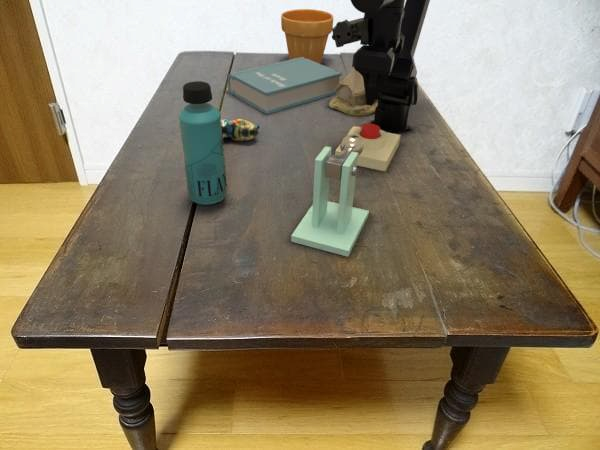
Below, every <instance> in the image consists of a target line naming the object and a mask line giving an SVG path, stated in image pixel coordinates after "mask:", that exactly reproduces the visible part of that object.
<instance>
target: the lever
mask: <svg viewBox="0 0 600 450" xmlns="http://www.w3.org/2000/svg"><path fill="white" fill-rule="evenodd" d="M340 144H341V145H340ZM340 144H339V145H340V149H341V154H340V155H339V156H338V155H335V154H331V157H330V158H329V159H328V161H327V162H326V172H325V177H327V178H329V179H333V180H336V181H341V176H342V165H343V164H344V162H345V161H346V159H347V158H348V156H349V155H350V153H351V152H357V153H358V156H359V155H360V154H361V153H362V151H363V148H364V145H363V141H362V140H361V138H360V137H358V136H356V135H348V136H346V135H345V136H344V137H343V139H342V140H341V142H340Z"/></svg>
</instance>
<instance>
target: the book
mask: <svg viewBox="0 0 600 450" xmlns="http://www.w3.org/2000/svg"><path fill="white" fill-rule="evenodd" d="M342 75H343V74H342V72H341V71H337V70H335V69H333V68H331V67H329V66H326V65H324V64H322V63H321V64H319V63H316V62H314V61H311V60H309V59H305V58H304V57H300V58H295V59H291V60H290V59H287V60H283V61H278V62H273V63H270V64H265V65H260V66H256V67H251V68H248V69H243V70H238V71H235V72H230V73H229V74H227V89H228V92H229V94H230V95H232V96H234V97H235V98H237V99H238V100H241V101H243V102H244V103H246V104H248V105H249V106H252V107H253V108H254V109H256V110H258V111H260V112H262V113H263V114H265V115H269V114H272V113H276V112H280V111H283V110H287V109H290V108H293V107H297V106H300V105H303V104H307V103H310V102H314V101H318V100H321V99H325V98H327V97H330V96H335V95H336V92H337V91H336V86H337V85H338V84H339V83H340V77H342Z"/></svg>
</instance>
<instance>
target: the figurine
mask: <svg viewBox="0 0 600 450" xmlns="http://www.w3.org/2000/svg"><path fill="white" fill-rule="evenodd" d="M221 127H223V128H222V132H223V133H222V134H223V135H222V136H223V138H222V139H224V138H230V139H231V140H233V141H237V142H247V141H251V140H253V139H254V138H255V137H256V136H258V132H259V131H258V130H259V129H260V125H258V124H255V123H252V122H251V121H249V120H246V119H242V118H241V119H240V118H236V119H233V120H231V119H226V118H221Z"/></svg>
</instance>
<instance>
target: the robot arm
mask: <svg viewBox="0 0 600 450" xmlns="http://www.w3.org/2000/svg"><path fill="white" fill-rule="evenodd" d="M350 2H351V4H352V6H353V8H354V9H356V10H357V11H358V12H360V13H362V14H363V17H360V18H357V19H353V20H348V19H344V20H343V21H337V23H336V24H335V26H333V28H332V35H331V39H332V40H333V41H334V43H335V48H341V47H344V46H345V45H349V44H352V43H356V42H359V41H360V43H359V44H360V45H361V46H360V47H359V48H357V50H356V51H355V52H354V53H353V55H352V65H351V66H352V68H353V69H355V70H356V71H358V72H359V73H360V74H361V75H362V76H363V81H364V88H365V97H366V104H367V105H370V106H372V105H373V104H374V102H375V100H378V105H377V107H376V109H375V112H374V117H373V120H371V121H370V124H375V125H378V126H379V127H380V129H381V130H383V131H385V132H388V133H393V134H398V133H402V132H406V131H411V130H412V127H411V126H410V125H409V124H408V120H409V119H408V118H409V113H410V108H412V106H417V105H418V101H419V96H420V95H419V92H420V87H419V83H418V78H417V75H418V70H417V66H416V63H415V58H414V57H415V53H416V50H417V46H418V43H419V40H420V37H421V33H422V29H423V25H424V23H425V19H426V16H427V13H428V9H429V5H430V2H431V0H350Z"/></svg>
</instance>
